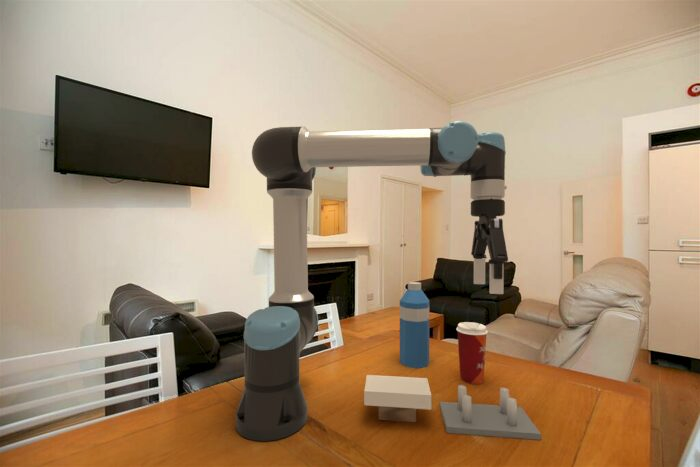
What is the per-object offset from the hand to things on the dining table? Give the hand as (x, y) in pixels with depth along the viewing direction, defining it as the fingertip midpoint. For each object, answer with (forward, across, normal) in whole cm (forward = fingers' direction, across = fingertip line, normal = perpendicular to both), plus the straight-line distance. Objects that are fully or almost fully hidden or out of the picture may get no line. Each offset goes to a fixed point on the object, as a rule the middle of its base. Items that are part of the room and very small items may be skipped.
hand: (487, 288), depth 78 cm
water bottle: (+28, +23, +15) cm, 39 cm away
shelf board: (+24, -8, +22) cm, 33 cm away
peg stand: (+28, -8, +2) cm, 29 cm away
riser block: (+28, -8, +22) cm, 36 cm away
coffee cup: (+28, +13, 0) cm, 31 cm away
